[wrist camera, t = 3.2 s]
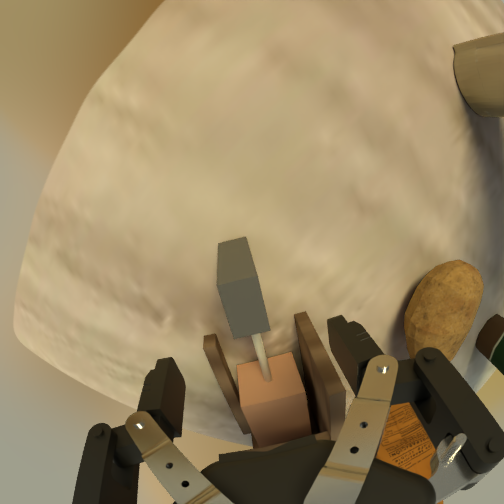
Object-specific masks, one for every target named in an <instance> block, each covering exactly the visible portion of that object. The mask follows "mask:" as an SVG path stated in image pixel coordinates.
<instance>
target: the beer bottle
mask: <svg viewBox="0 0 504 504" xmlns="http://www.w3.org/2000/svg"><path fill="white" fill-rule="evenodd" d="M476 348H477V349H478V350H479V351H480V352H481V353H482V354H483V355H484V356H485V357H486V358H487V359H488V360H489V361H490V362H491V363H492V364H493V365H494V366H495V367H496V368H497V369H498V370H499V371H500V372H501V373H502V374H503V375H504V318H503V317H501V316H500V315H498V314H496V315H495V316H493V317H492V318H490V319H489V320H488V321H487V322H486V324H485V325H484V327H483V329H482V330H481V331H480V333H479V335H478V339H477V342H476Z"/></svg>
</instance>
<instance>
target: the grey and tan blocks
mask: <svg viewBox="0 0 504 504" xmlns="http://www.w3.org/2000/svg"><path fill="white" fill-rule="evenodd" d="M217 288H218V291H219V294H220V297H221V301H222V304H223V307H224V310H225V313H226V316H227V319H228V322H229V325H230V328H231V331H232V334H233V337H234V339H237V338H241V337H246V336H250V335H251V337H252V340H253V343H254V347H255V350H256V354H257V357H258V361H253V362H249V363H244V364H240V365H237V374H238V384H239V395H240V405H241V409H242V411H243V413H244V415H245V418H246V420H247V422H248V424H249V426H250V429H251V431H252V433H253V435H254V437H255V439H256V441H257V443H258V445H259V447H260V448H261V447H266V446H271V445H276V444H281V443H285V442H289V441H291V440H295V439H299V438H303V437H306V436H310V435H312V433H311V426H310V419H309V412H308V406H307V399H306V393H305V389H304V386H303V384H302V381H301V378H300V375H299V372H298V369H297V366H296V363H295V360H294V358H293V355H292V352H290V353H286V354H282V355H278V356H274V357H270V358H267V356H266V352H265V349H264V345H263V341H262V338H261V334H260V333H262V332H267V331H270V326H269V322H268V318H267V313H266V309H265V305H264V301H263V297H262V292H261V288H260V284H259V280H258V276H257V272H256V269H255V265H254V262H253V259H252V255H251V252H250V248H249V245H248V241H247V238H246V237H242V238H238V239H234V240H230V241H226V242H222V243H218V264H217Z"/></svg>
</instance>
